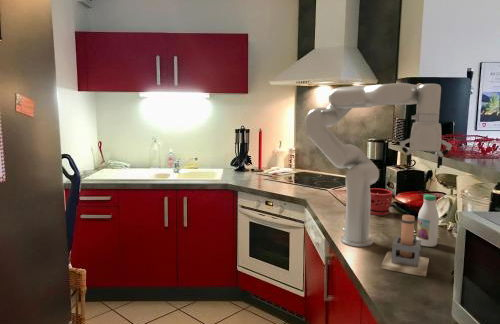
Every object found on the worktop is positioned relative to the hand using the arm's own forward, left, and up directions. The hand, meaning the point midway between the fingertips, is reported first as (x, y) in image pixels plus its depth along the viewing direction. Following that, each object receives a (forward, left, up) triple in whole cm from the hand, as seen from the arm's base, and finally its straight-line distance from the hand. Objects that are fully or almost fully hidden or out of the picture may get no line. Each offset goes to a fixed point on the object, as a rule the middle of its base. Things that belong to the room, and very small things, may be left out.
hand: (423, 166), depth 145 cm
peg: (+7, -11, -32) cm, 34 cm away
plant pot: (-54, +21, -34) cm, 67 cm away
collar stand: (+7, -11, -33) cm, 36 cm away
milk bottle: (-9, +12, -34) cm, 37 cm away
